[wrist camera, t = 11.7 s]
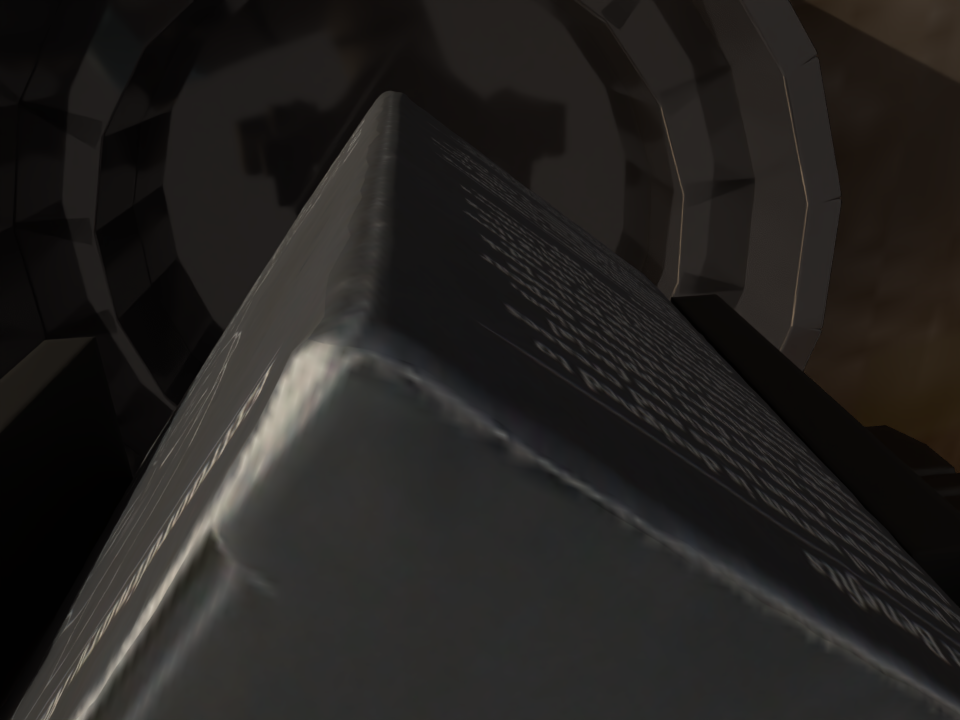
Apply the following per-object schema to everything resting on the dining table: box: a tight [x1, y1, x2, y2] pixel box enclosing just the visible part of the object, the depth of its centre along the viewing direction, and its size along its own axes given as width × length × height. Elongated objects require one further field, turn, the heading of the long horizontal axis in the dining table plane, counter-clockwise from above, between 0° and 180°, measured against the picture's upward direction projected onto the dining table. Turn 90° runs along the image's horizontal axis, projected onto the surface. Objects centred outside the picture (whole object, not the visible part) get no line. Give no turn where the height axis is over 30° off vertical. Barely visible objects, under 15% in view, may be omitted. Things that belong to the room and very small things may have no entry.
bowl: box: [0, 0, 842, 478], centre depth 20 cm, size 20×20×6 cm
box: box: [0, 91, 960, 720], centre depth 9 cm, size 8×6×11 cm
